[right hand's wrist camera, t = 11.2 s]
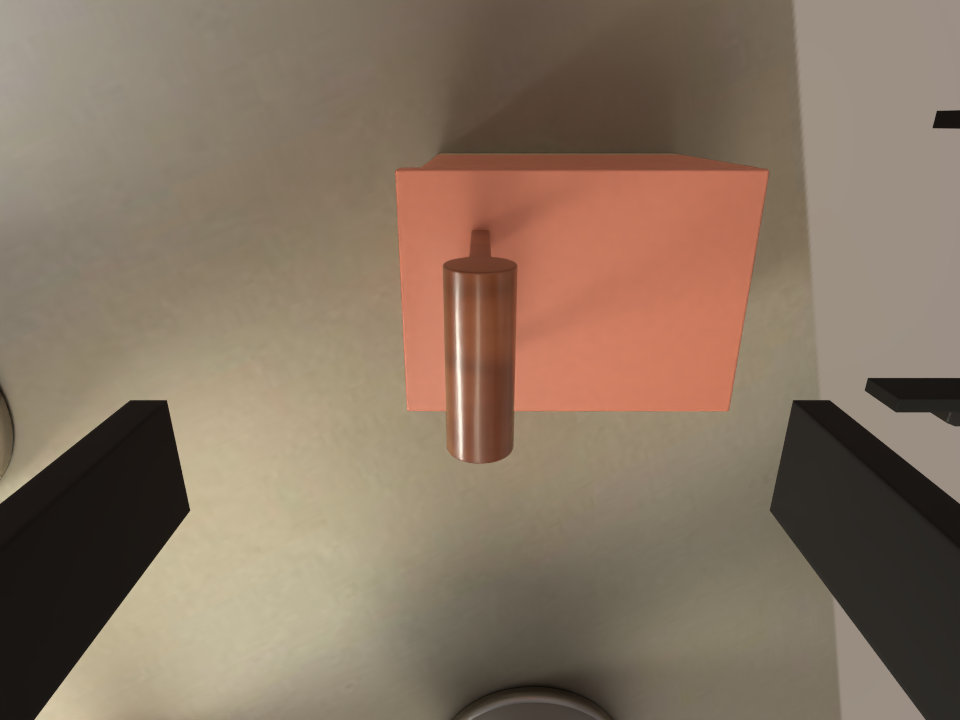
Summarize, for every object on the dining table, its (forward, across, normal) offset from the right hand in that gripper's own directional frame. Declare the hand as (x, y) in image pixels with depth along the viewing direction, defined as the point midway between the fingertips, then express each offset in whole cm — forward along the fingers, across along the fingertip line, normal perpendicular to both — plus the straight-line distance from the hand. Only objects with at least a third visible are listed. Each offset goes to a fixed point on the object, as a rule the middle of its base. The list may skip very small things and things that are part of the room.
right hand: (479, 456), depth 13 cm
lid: (+13, -4, 0) cm, 14 cm away
